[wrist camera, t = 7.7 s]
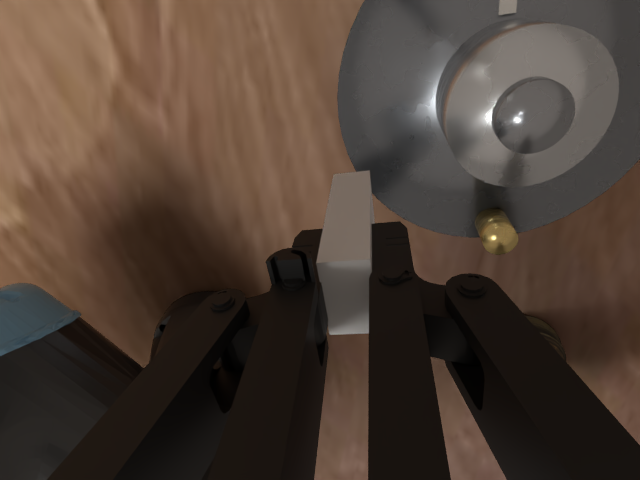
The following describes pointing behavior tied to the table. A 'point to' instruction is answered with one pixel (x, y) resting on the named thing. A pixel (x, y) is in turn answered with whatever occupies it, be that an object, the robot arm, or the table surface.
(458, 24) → the turntable
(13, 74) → the table surface
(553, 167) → the cover
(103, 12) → the table surface
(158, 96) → the table surface
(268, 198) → the table surface
